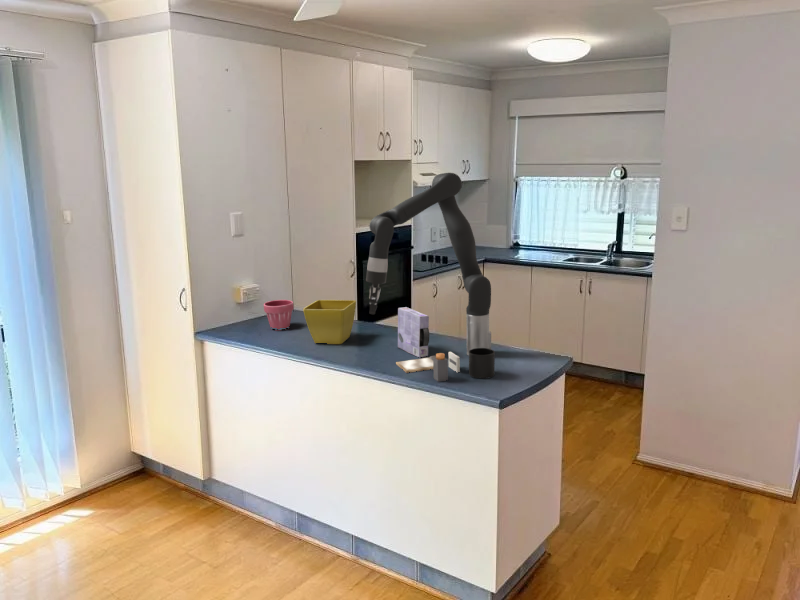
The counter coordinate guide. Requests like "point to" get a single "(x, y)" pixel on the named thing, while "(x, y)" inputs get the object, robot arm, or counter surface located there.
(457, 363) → the block
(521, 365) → the counter surface
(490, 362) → the mug
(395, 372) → the counter surface
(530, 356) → the counter surface
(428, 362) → the clipboard
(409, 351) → the cake pan box
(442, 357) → the ball-topped gray post
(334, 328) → the flower pot
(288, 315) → the plant pot
